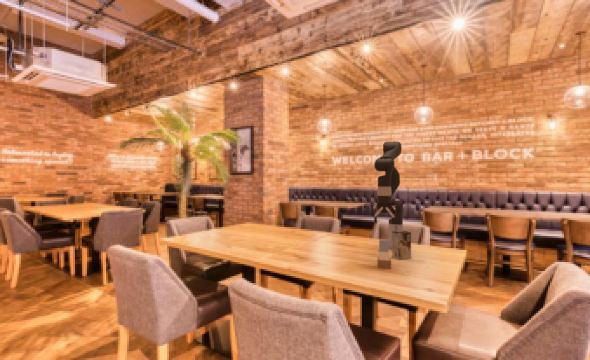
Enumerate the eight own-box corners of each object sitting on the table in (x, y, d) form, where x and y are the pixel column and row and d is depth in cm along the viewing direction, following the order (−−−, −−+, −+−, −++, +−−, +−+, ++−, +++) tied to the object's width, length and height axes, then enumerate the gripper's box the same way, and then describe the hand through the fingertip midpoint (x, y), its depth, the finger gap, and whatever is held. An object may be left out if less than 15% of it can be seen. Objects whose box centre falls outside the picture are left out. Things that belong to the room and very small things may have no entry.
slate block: (379, 249, 166) (379, 238, 166) (388, 250, 165) (388, 239, 165) (379, 251, 161) (379, 240, 161) (388, 252, 160) (388, 241, 160)
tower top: (378, 256, 167) (378, 249, 167) (389, 257, 165) (389, 249, 165) (378, 259, 161) (378, 251, 161) (389, 260, 160) (390, 252, 160)
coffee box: (404, 255, 185) (404, 230, 185) (411, 258, 179) (411, 232, 178) (391, 256, 182) (392, 231, 182) (398, 259, 176) (398, 233, 176)
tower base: (377, 264, 168) (377, 256, 167) (390, 265, 166) (390, 257, 166) (377, 268, 161) (377, 260, 161) (390, 269, 159) (390, 261, 159)
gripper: (397, 194, 164) (397, 223, 165) (371, 194, 168) (371, 222, 168) (398, 195, 157) (398, 225, 157) (370, 194, 161) (370, 224, 161)
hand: (384, 223), depth 163 cm, fingers open, 8 cm apart
